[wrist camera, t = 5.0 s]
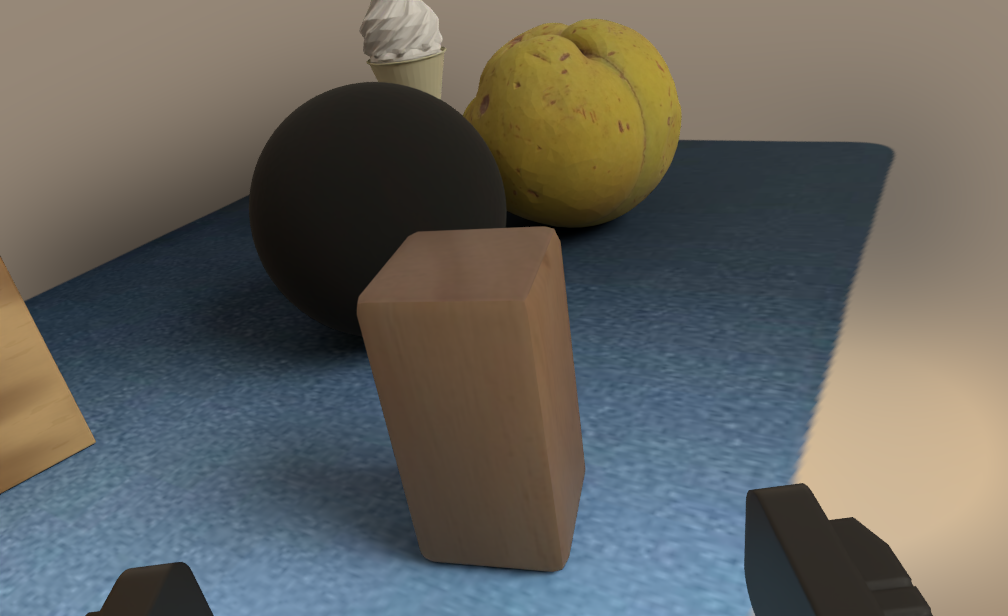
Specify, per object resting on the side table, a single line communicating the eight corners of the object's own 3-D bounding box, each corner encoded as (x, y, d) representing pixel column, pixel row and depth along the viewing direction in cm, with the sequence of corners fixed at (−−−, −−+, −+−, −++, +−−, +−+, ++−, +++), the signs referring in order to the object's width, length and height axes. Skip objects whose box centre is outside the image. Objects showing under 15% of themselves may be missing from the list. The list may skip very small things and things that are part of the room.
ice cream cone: (379, 191, 48) (320, -60, 41) (418, 165, 52) (372, -68, 45) (443, 193, 46) (393, -72, 38) (480, 166, 49) (441, -79, 42)
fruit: (694, 180, 41) (691, -7, 37) (668, 272, 32) (661, 34, 27) (511, 185, 45) (487, 16, 40) (439, 268, 35) (397, 58, 31)
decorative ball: (562, 332, 28) (531, 73, 24) (312, 420, 26) (221, 145, 21) (472, 251, 37) (436, 47, 32) (276, 310, 34) (205, 95, 29)
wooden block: (588, 470, 21) (561, 219, 17) (568, 580, 18) (529, 298, 14) (459, 464, 22) (408, 225, 19) (418, 566, 19) (345, 300, 15)
